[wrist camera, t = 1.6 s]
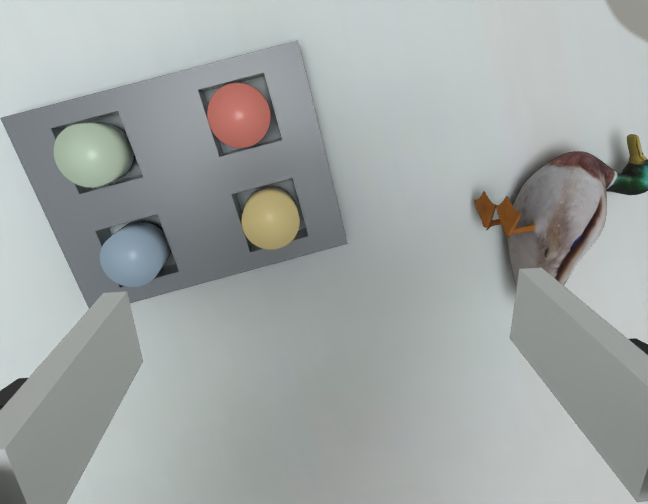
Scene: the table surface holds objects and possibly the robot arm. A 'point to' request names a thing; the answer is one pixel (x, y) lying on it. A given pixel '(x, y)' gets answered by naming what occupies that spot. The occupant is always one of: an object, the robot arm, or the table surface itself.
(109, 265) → the slate button
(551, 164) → the decorative duck model
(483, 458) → the table surface
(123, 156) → the sage button
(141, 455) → the table surface
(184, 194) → the button panel
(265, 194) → the ochre button
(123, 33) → the table surface
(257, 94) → the red button
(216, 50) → the table surface
